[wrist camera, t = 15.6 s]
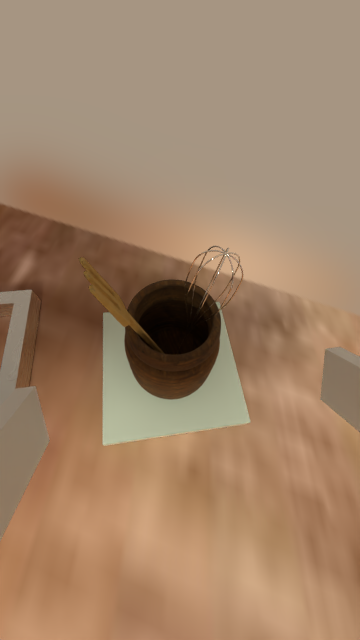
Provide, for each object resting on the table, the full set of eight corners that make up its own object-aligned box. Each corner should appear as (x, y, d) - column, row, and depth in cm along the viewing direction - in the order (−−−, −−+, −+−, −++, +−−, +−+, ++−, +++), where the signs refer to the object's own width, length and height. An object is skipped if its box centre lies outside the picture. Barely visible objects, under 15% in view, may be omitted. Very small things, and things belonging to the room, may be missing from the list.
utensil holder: (224, 381, 19) (299, 282, 8) (143, 418, 17) (110, 353, 7) (190, 317, 21) (214, 179, 11) (117, 344, 20) (63, 214, 9)
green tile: (106, 445, 17) (102, 444, 16) (105, 318, 22) (103, 312, 21) (246, 424, 18) (250, 422, 17) (217, 307, 23) (219, 301, 22)
